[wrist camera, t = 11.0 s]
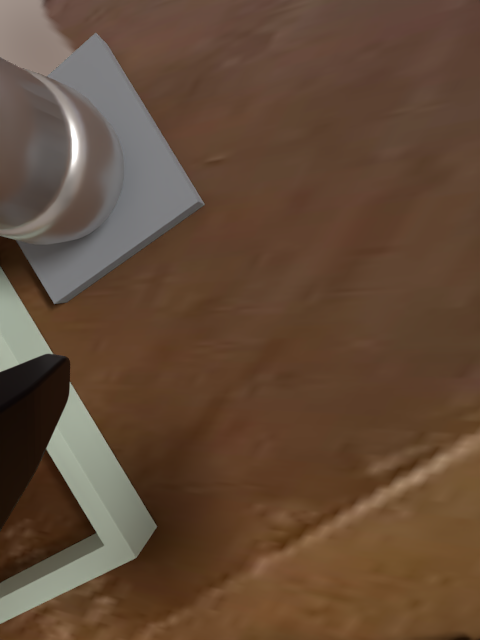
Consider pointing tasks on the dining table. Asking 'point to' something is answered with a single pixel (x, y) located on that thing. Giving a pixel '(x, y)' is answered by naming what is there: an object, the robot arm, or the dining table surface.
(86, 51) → the rubber mat
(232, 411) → the dining table surface
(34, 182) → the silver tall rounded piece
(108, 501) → the empty rectangular frame
